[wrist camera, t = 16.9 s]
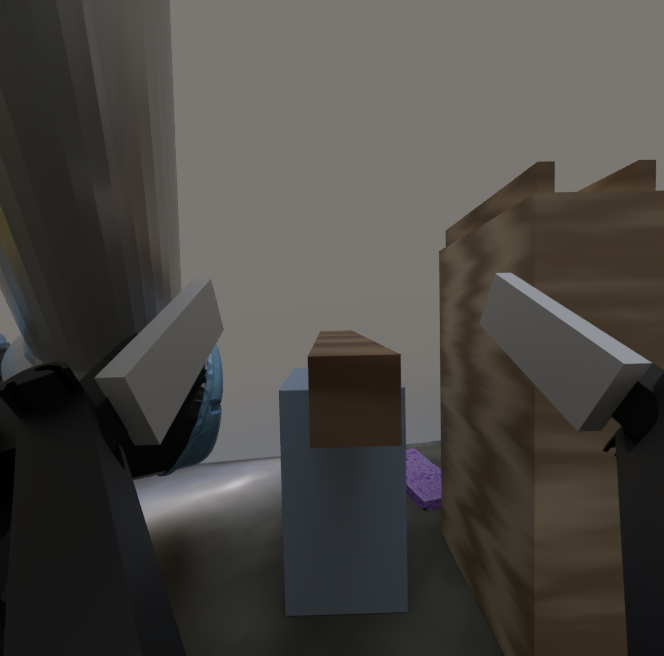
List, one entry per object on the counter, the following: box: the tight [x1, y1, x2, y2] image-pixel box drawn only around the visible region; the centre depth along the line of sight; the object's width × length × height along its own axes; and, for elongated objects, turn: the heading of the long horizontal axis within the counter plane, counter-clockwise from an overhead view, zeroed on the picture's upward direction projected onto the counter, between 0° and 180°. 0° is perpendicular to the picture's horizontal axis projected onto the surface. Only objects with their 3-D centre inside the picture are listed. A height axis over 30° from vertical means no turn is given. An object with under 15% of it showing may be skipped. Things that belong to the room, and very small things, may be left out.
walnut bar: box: [308, 331, 402, 448], centre depth 24 cm, size 24×4×4 cm, turn 1°
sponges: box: [406, 448, 442, 510], centre depth 42 cm, size 7×13×2 cm, turn 18°
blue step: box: [279, 368, 408, 616], centre depth 28 cm, size 10×10×18 cm
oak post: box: [439, 160, 664, 656], centre depth 24 cm, size 14×8×33 cm, turn 1°
